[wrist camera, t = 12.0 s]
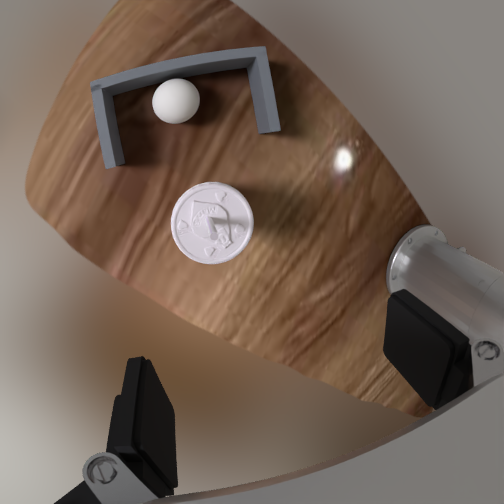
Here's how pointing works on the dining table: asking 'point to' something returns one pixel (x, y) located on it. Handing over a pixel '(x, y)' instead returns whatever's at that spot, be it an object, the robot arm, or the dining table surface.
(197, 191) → the smoothie
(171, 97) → the ball
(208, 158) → the dining table surface
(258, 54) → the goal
